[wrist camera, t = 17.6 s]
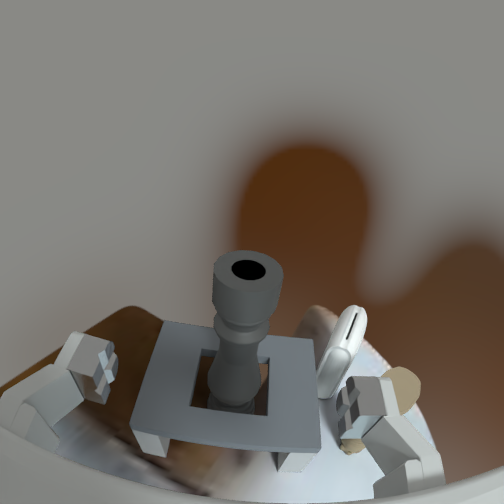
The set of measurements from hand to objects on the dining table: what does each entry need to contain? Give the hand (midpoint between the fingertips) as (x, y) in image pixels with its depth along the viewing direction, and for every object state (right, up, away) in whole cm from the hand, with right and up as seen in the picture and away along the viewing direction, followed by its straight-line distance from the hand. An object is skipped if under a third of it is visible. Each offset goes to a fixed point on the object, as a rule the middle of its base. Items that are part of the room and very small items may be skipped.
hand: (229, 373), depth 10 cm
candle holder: (-2, -18, +29) cm, 35 cm away
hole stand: (-3, -18, +29) cm, 34 cm away
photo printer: (+13, -15, +37) cm, 42 cm away
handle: (+14, -23, +26) cm, 37 cm away
